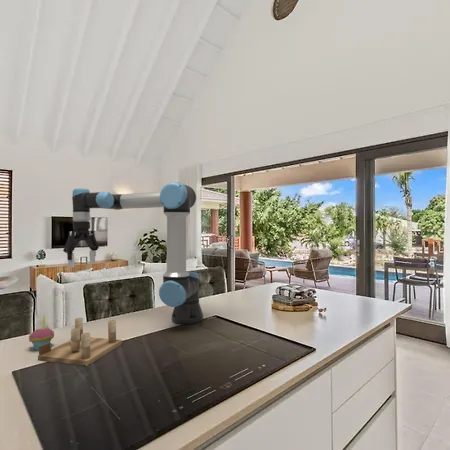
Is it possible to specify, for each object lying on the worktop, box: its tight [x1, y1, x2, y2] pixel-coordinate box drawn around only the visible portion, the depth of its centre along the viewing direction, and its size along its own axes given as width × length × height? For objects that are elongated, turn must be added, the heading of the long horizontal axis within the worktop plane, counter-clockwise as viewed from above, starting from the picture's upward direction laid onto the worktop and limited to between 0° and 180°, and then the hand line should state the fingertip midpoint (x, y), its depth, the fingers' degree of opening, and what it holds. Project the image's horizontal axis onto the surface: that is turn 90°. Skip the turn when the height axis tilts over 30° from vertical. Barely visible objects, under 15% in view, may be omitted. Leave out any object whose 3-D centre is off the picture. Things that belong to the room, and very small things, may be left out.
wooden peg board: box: [37, 317, 123, 367], centre depth 119 cm, size 20×20×10 cm
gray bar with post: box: [69, 327, 80, 352], centre depth 120 cm, size 3×14×8 cm, turn 30°
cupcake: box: [28, 314, 55, 351], centre depth 124 cm, size 9×8×12 cm
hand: (82, 265), depth 155 cm, fingers open, 13 cm apart
